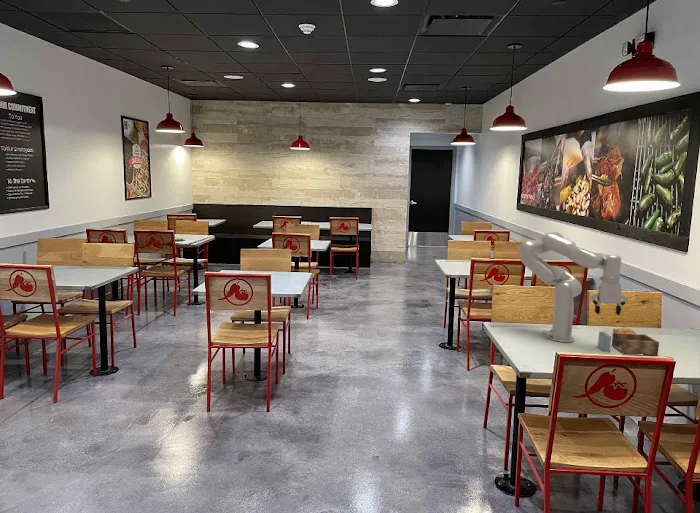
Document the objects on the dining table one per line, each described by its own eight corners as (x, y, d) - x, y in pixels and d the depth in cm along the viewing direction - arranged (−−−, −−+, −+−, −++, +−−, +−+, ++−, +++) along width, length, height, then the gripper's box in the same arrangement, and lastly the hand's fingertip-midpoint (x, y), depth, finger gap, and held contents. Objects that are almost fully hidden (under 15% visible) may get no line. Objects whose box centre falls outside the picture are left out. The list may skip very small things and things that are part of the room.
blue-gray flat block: (604, 351, 256) (605, 336, 255) (597, 346, 264) (598, 331, 264) (609, 352, 255) (611, 336, 254) (602, 346, 264) (604, 331, 263)
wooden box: (623, 354, 252) (624, 340, 252) (611, 345, 266) (612, 332, 265) (657, 356, 251) (659, 342, 250) (643, 347, 265) (645, 334, 264)
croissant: (642, 352, 270) (651, 338, 270) (628, 343, 269) (636, 330, 268) (617, 339, 291) (624, 327, 291) (603, 331, 289) (611, 319, 289)
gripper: (595, 280, 253) (592, 314, 255) (632, 282, 251) (628, 316, 253) (589, 278, 260) (586, 311, 262) (625, 279, 259) (622, 313, 261)
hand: (607, 313), depth 258 cm, fingers open, 9 cm apart
